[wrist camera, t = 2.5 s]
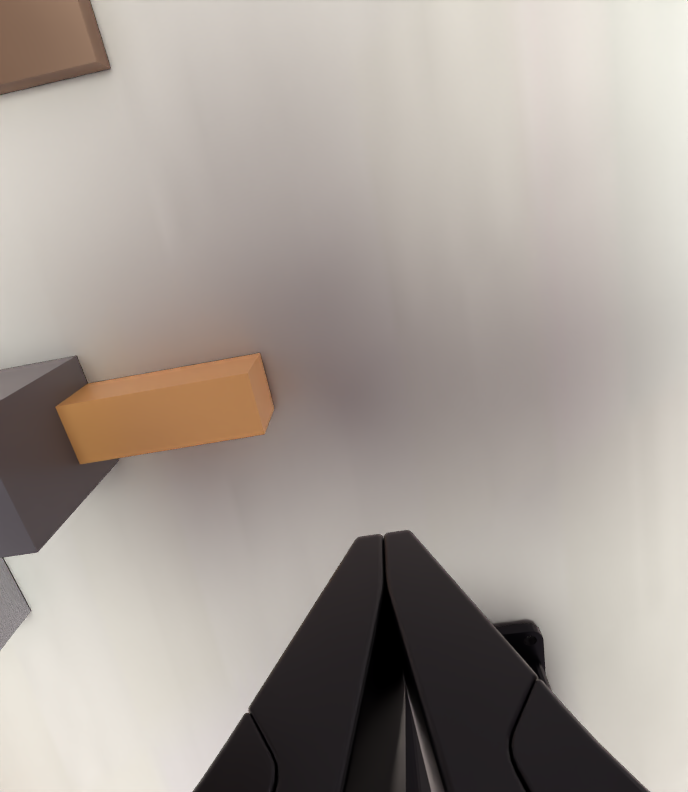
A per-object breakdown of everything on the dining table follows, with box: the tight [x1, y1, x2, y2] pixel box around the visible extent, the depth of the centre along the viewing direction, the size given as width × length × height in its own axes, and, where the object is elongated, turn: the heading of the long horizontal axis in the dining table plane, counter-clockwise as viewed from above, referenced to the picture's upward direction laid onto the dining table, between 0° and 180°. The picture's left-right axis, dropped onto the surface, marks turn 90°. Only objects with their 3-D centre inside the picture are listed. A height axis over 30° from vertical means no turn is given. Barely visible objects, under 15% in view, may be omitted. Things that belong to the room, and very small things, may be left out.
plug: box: [0, 353, 274, 558], centre depth 15 cm, size 10×4×5 cm, turn 101°
